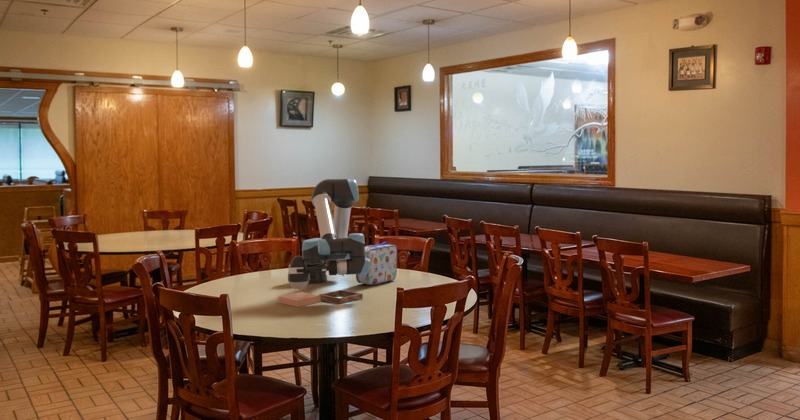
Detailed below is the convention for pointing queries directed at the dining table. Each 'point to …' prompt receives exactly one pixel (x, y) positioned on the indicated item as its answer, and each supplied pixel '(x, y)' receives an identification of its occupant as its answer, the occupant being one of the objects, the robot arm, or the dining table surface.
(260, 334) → the dining table surface
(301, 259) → the pump dispenser
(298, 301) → the stand
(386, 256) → the lunch box
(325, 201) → the robot arm
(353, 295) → the brown wooden trivet
